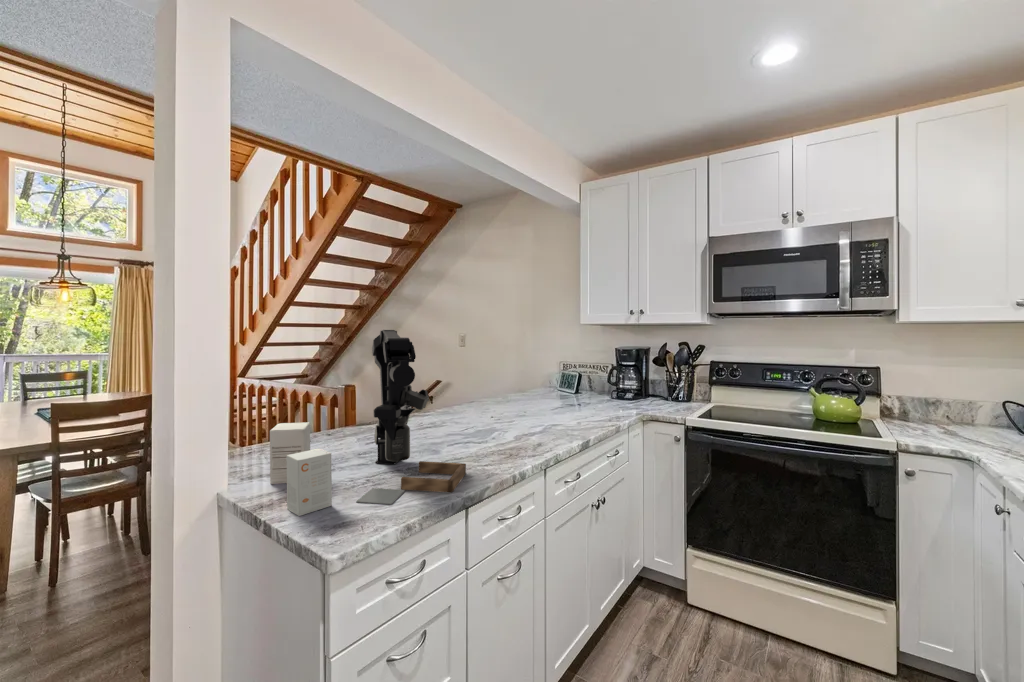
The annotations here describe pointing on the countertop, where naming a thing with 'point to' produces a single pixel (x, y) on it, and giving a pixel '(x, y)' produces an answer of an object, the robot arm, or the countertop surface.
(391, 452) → the supplement bottle
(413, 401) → the robot arm
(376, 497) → the slate mat
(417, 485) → the frame
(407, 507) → the countertop surface
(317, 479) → the small box
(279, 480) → the supplement box
